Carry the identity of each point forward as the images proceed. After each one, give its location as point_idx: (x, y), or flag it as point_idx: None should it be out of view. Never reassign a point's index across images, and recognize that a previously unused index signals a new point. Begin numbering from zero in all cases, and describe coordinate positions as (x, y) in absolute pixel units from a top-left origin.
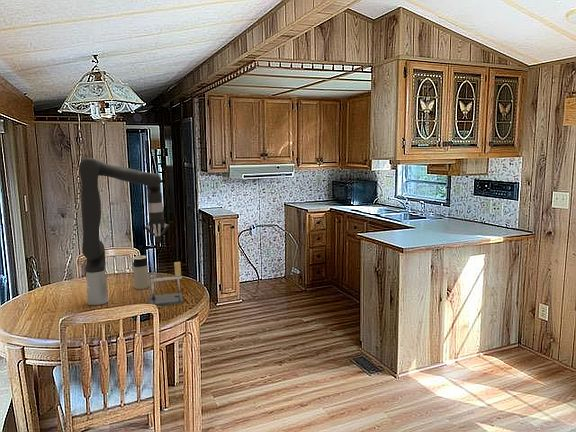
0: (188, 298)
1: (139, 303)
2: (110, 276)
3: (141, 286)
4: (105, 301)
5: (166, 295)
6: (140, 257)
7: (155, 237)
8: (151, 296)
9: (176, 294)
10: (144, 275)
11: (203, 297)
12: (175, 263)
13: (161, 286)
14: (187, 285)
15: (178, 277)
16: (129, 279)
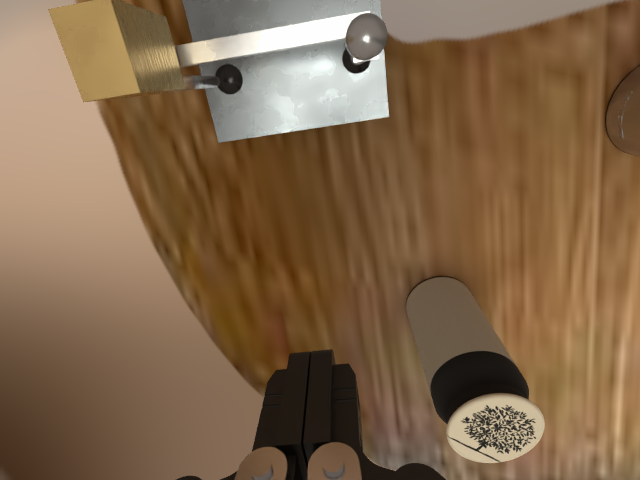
0: None
1: (432, 40)
2: (579, 466)
3: (441, 283)
4: (625, 84)
5: (292, 106)
6: (490, 423)
7: (347, 431)
8: (373, 105)
9: (239, 113)
10: (436, 321)
11: None
12: (106, 25)
13: (348, 298)
14: (227, 287)
15: None
16: None
